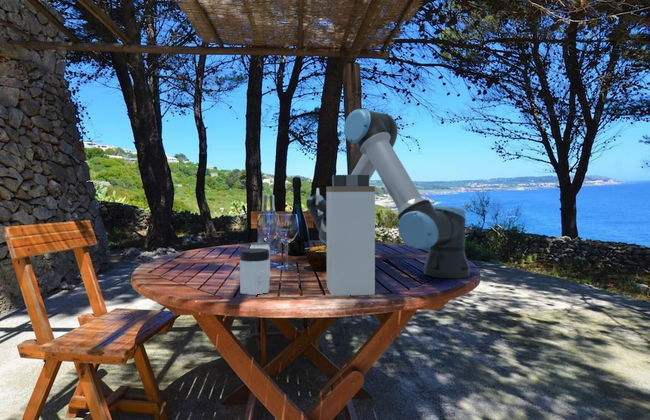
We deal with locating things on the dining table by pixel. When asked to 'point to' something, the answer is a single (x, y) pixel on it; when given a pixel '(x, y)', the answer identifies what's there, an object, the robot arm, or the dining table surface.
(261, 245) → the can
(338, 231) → the stand
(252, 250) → the jar
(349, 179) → the t handle
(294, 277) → the dining table surface
